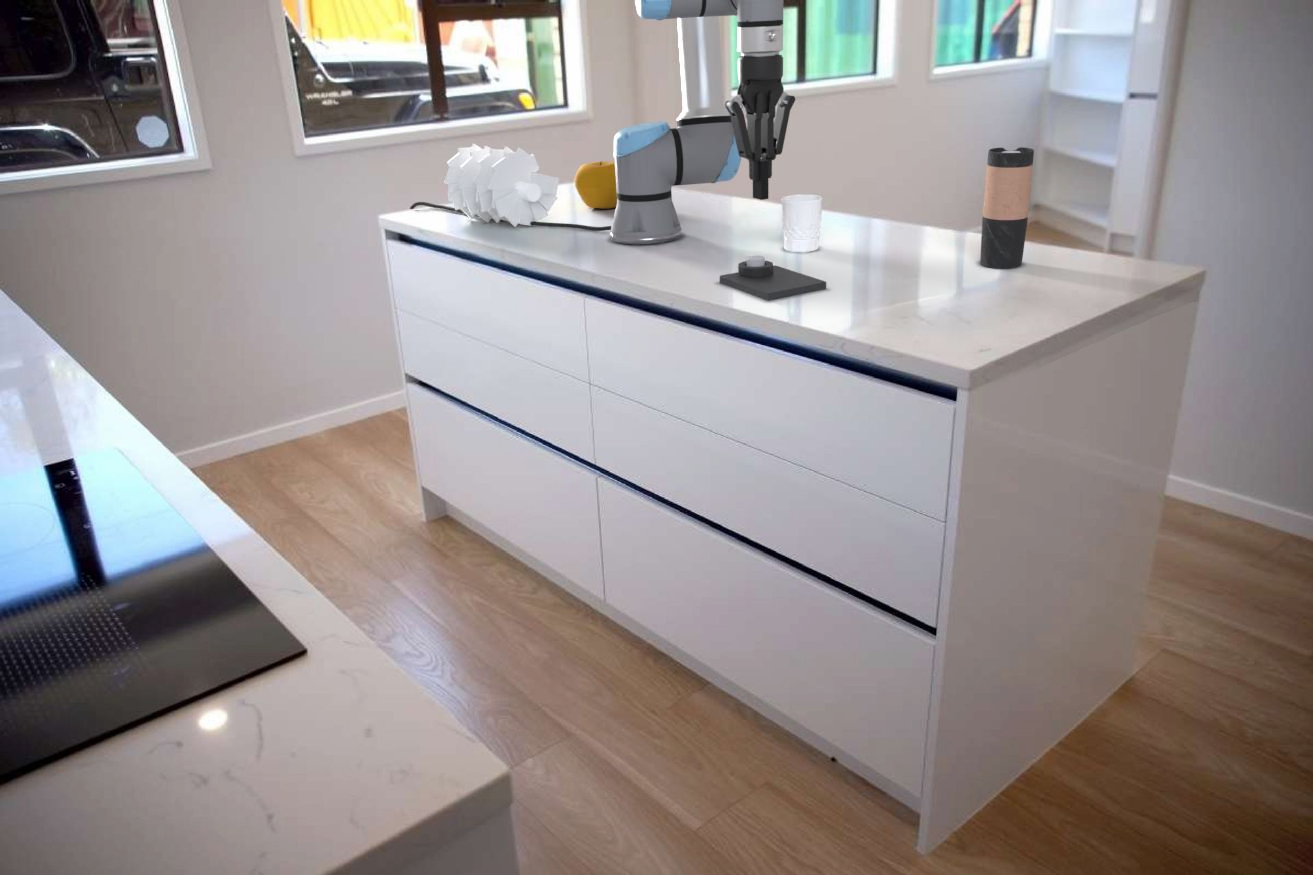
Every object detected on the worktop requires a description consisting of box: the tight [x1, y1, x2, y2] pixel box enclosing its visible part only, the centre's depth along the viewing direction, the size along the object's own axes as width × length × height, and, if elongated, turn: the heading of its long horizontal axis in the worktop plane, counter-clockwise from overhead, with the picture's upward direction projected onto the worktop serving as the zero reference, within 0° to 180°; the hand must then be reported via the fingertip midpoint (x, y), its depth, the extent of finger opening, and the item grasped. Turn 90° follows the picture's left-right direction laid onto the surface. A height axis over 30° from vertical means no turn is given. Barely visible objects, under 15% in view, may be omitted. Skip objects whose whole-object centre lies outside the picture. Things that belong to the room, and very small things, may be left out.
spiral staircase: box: [443, 142, 560, 228], centre depth 235 cm, size 18×18×25 cm
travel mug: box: [979, 146, 1035, 270], centre depth 176 cm, size 8×8×20 cm
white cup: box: [781, 194, 823, 253], centre depth 196 cm, size 8×8×10 cm
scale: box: [719, 260, 827, 302], centre depth 173 cm, size 16×12×3 cm
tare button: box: [746, 255, 766, 267], centre depth 176 cm, size 3×3×2 cm
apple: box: [573, 160, 617, 210], centre depth 247 cm, size 13×13×11 cm
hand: (760, 198), depth 174 cm, fingers closed
